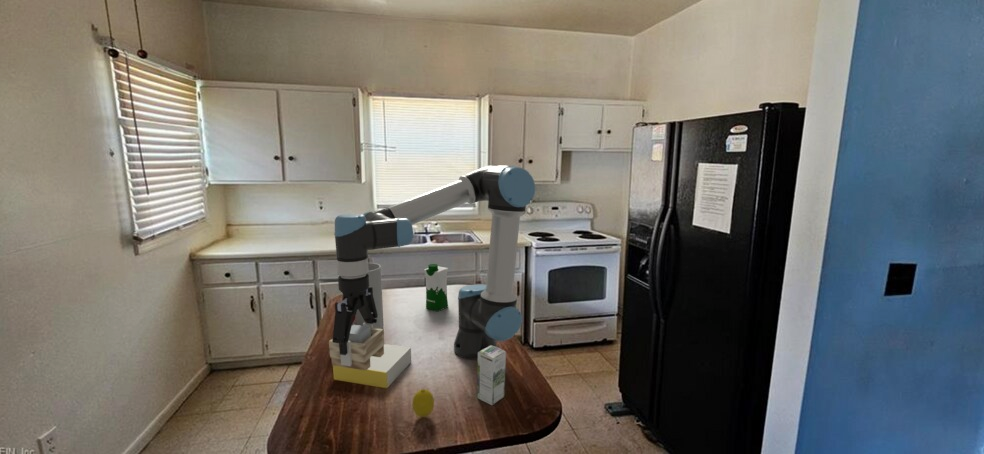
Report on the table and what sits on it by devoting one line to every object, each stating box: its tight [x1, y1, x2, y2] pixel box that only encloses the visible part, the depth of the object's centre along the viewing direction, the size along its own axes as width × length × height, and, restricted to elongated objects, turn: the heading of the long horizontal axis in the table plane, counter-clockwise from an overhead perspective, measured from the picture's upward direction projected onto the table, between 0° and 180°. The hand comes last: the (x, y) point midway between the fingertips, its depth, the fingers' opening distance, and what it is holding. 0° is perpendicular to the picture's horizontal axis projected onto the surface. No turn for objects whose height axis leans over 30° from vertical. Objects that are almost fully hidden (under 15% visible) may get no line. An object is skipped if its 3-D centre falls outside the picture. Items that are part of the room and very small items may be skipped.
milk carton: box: [423, 263, 449, 312], centre depth 185 cm, size 9×9×20 cm
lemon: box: [412, 388, 435, 418], centre depth 110 cm, size 6×6×8 cm
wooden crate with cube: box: [328, 325, 386, 370], centre depth 111 cm, size 10×10×7 cm
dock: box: [332, 343, 412, 389], centre depth 133 cm, size 18×16×5 cm
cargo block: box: [344, 325, 371, 343], centre depth 111 cm, size 5×5×4 cm
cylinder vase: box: [356, 262, 385, 329], centre depth 162 cm, size 12×12×25 cm
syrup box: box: [476, 345, 507, 406], centre depth 118 cm, size 6×6×14 cm
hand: (358, 354), depth 111 cm, fingers closed on wooden crate with cube, 10 cm apart
